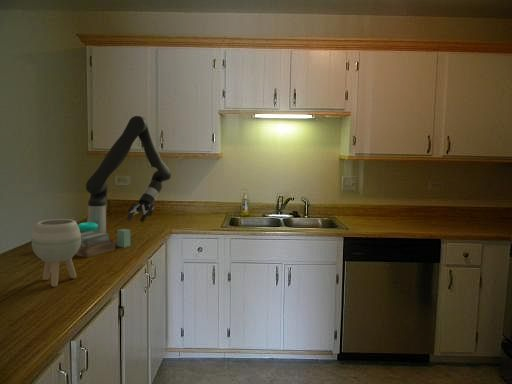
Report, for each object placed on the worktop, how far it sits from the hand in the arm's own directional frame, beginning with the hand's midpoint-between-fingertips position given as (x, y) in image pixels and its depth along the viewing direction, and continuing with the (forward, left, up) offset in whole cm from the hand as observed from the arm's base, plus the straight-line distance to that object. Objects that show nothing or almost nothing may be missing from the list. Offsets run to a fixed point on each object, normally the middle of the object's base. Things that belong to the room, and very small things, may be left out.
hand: (134, 220), depth 205 cm
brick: (0, -8, -12) cm, 14 cm away
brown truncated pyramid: (-7, -24, -12) cm, 28 cm away
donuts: (-22, -11, -12) cm, 27 cm away
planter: (+18, -61, -12) cm, 65 cm away
